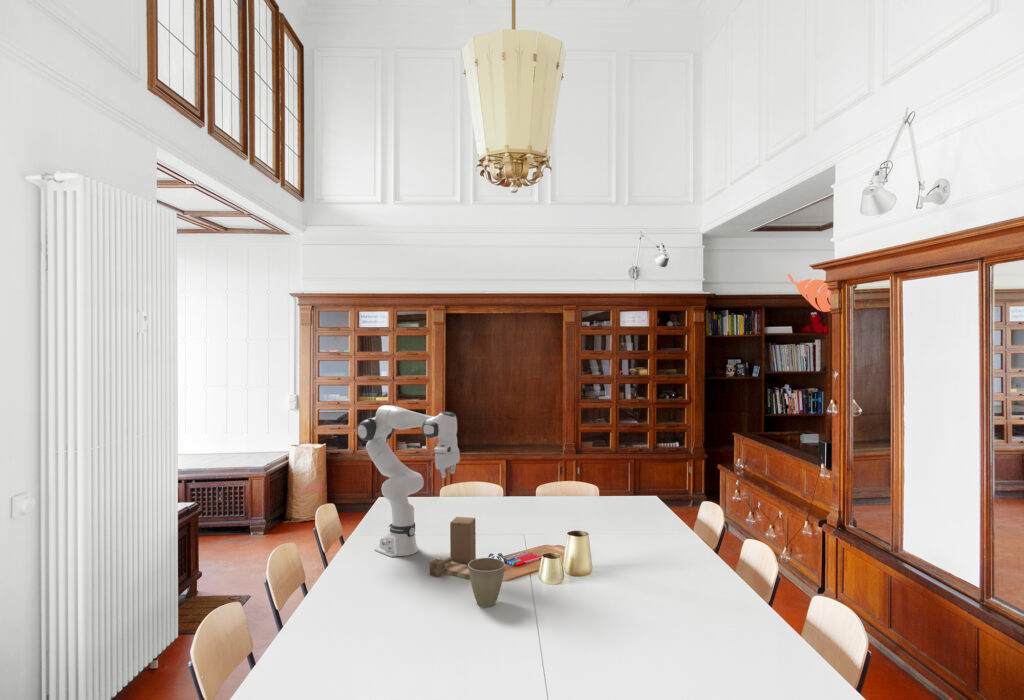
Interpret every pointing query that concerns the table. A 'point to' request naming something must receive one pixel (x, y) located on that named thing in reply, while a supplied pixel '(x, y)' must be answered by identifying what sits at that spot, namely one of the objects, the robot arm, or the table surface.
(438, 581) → the table surface
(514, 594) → the table surface
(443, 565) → the block
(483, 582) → the plant pot
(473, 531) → the wooden block
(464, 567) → the board
